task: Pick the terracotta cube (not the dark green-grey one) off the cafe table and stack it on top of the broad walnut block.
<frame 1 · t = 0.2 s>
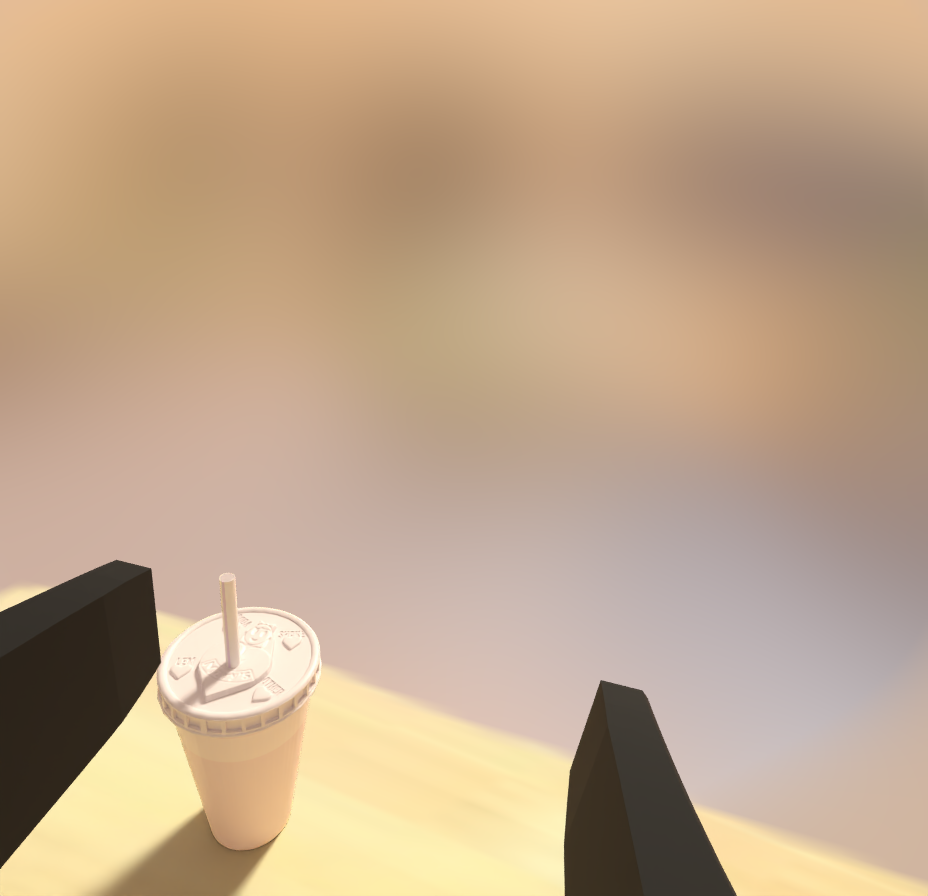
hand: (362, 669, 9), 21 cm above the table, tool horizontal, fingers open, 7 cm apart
smoothie: (252, 813, 29), on the table
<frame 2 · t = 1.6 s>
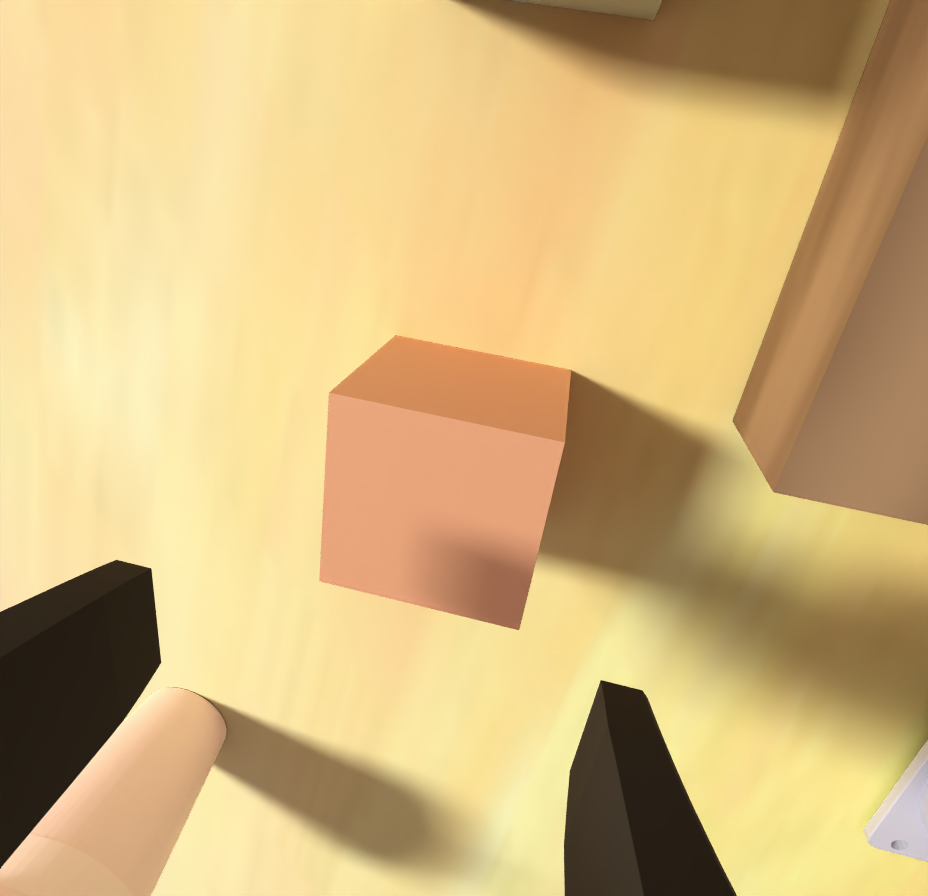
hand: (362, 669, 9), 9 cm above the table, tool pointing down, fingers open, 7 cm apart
terracotta cube: (469, 432, 18), on the table
smoothie: (189, 715, 26), on the table
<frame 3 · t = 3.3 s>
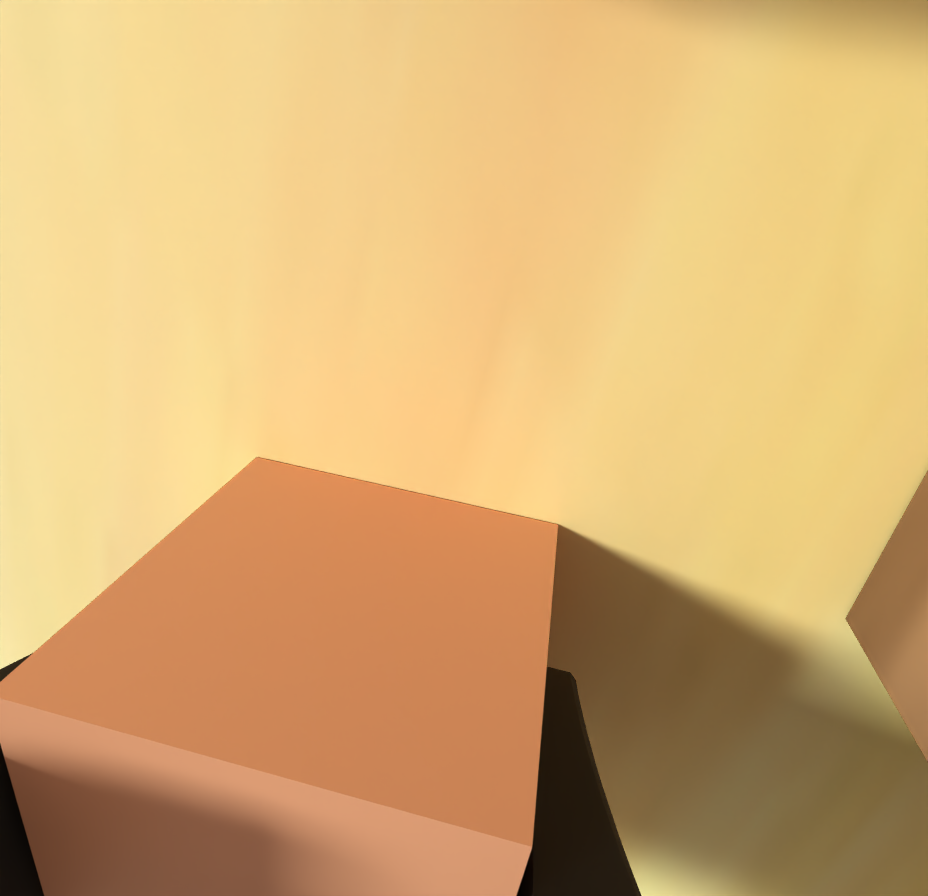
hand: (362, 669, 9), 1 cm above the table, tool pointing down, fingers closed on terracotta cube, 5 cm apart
terracotta cube: (389, 610, 11), on the table, touching gripper
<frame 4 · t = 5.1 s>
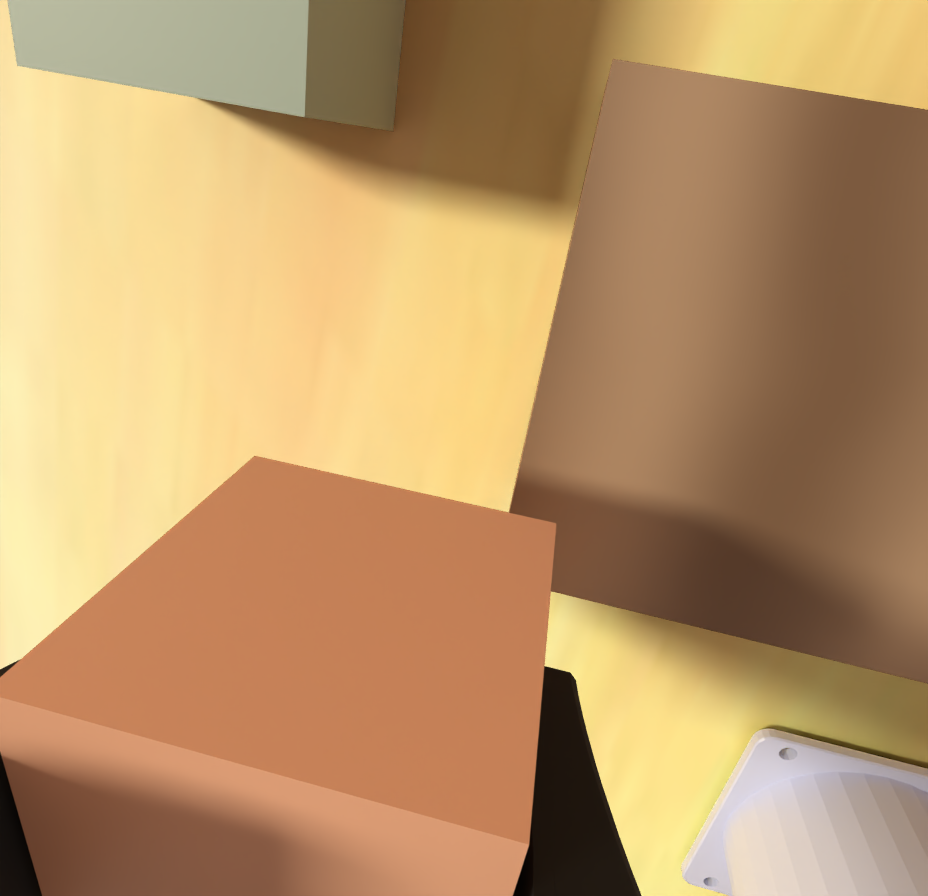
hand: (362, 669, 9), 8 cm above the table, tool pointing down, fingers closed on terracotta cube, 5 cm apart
walnut block: (757, 361, 15), on the table
terracotta cube: (387, 609, 11), point 7 cm above the table, touching gripper
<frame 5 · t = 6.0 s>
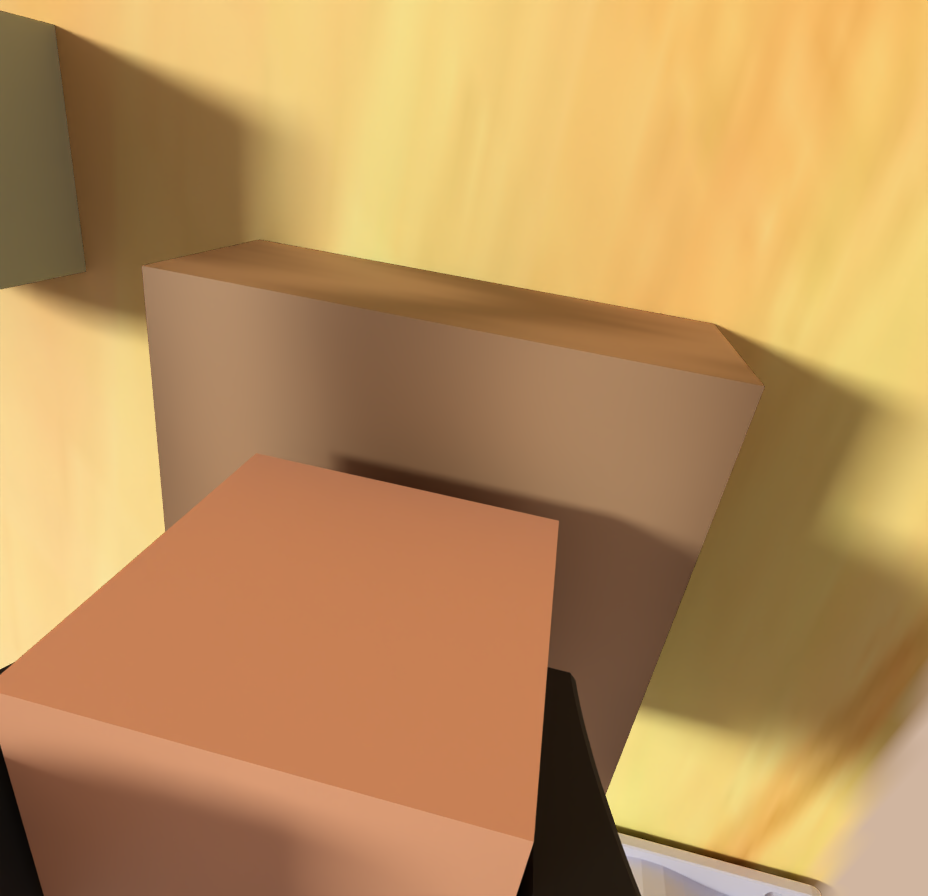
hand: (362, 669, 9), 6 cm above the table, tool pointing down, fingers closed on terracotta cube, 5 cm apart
walnut block: (447, 480, 15), on the table
terracotta cube: (389, 607, 11), point 5 cm above the table, touching gripper
when the fingers open (6 cm above the table, at t = 6.8 s): terracotta cube stays where it is, resting on walnut block.
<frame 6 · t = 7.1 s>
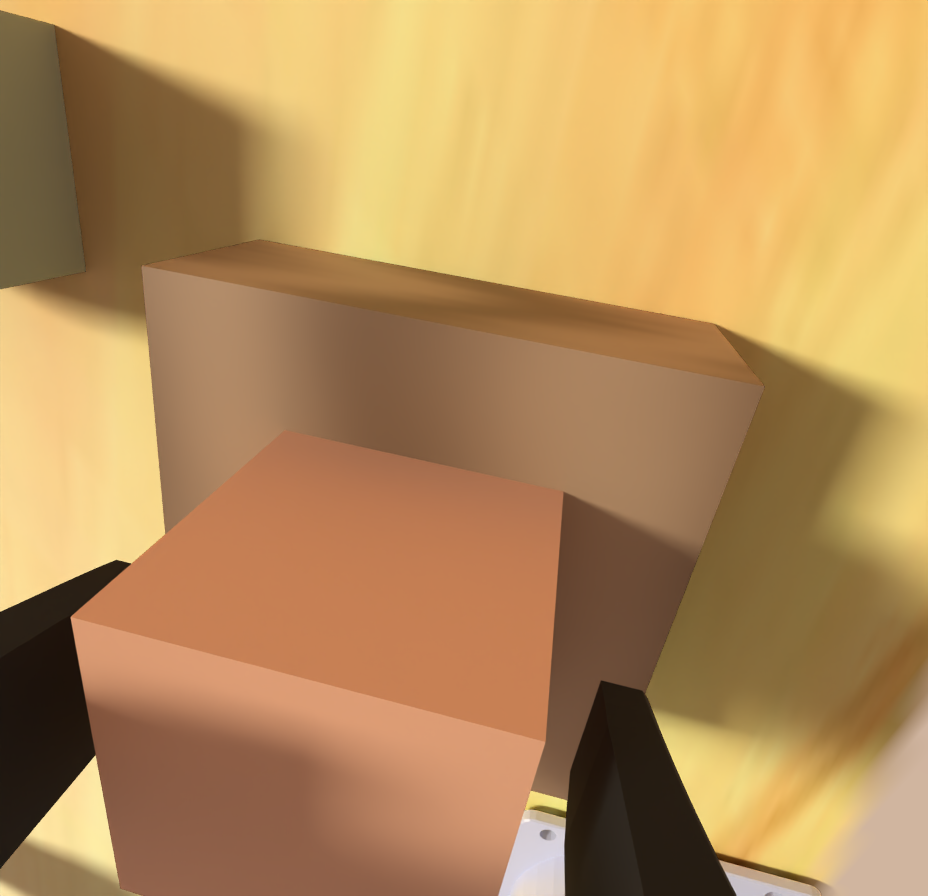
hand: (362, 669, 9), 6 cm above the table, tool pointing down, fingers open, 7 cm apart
walnut block: (447, 480, 15), on the table
terracotta cube: (405, 574, 12), point 4 cm above the table, touching walnut block
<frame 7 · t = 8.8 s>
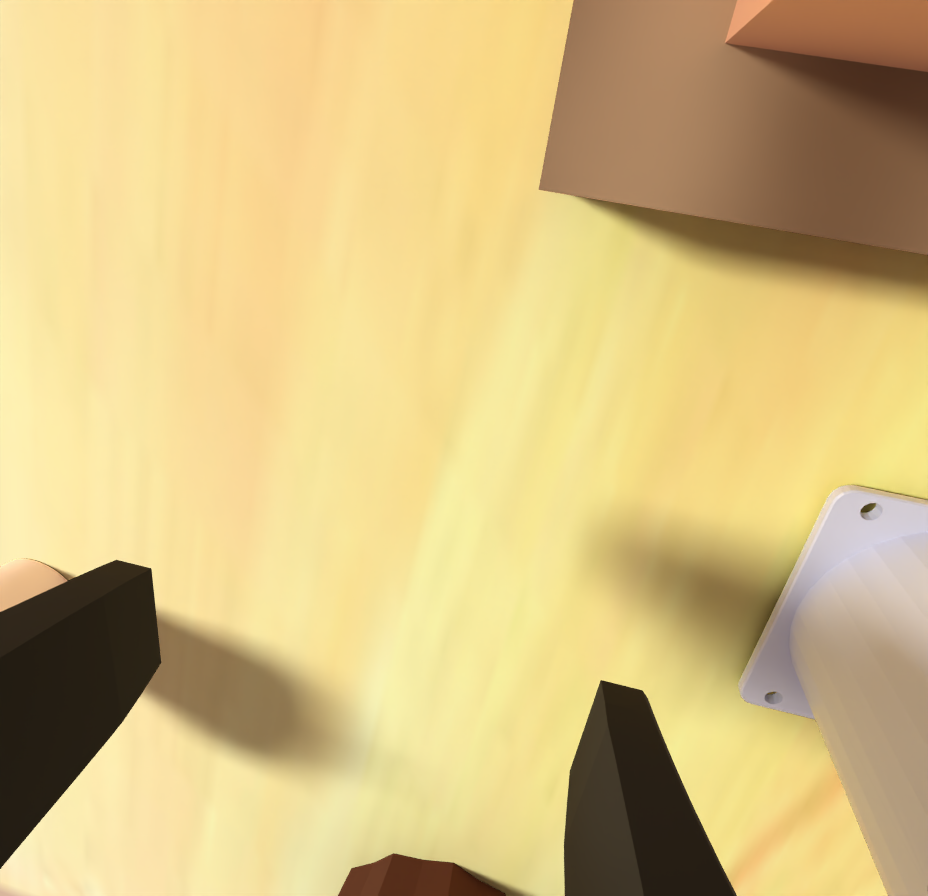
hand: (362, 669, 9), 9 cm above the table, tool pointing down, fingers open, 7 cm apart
smoothie: (44, 593, 25), on the table
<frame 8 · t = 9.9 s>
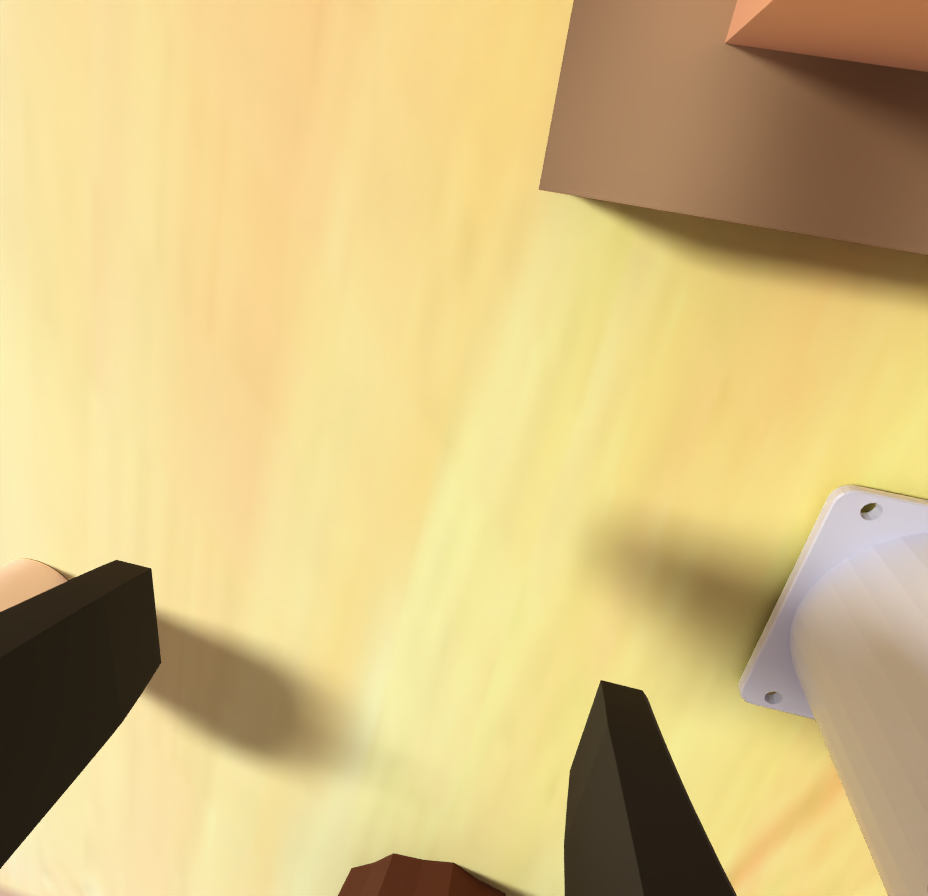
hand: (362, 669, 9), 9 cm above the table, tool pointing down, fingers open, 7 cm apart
smoothie: (44, 593, 25), on the table
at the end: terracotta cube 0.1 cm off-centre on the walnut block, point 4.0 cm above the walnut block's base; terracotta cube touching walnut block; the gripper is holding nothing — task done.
